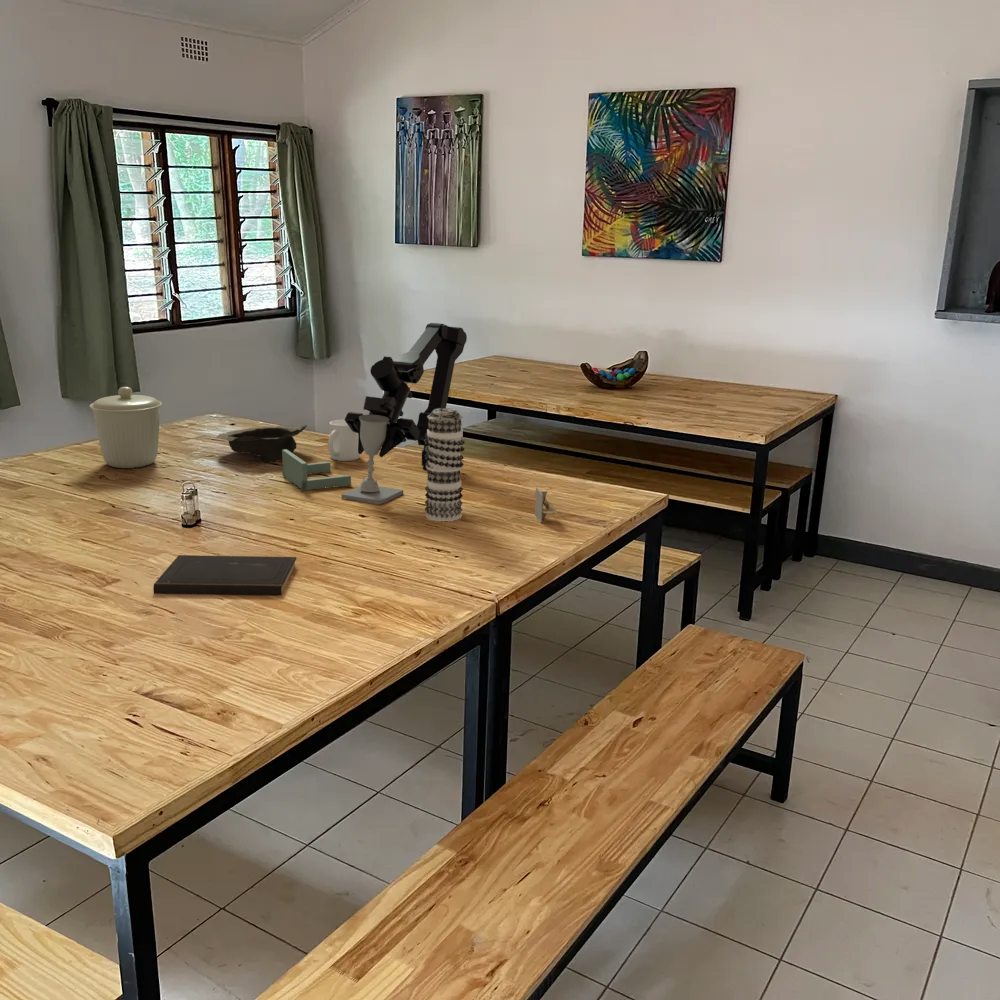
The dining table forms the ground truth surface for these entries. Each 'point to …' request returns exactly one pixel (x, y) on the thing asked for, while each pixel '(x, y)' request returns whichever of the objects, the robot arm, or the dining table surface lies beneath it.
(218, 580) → the hardcover book
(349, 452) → the mug
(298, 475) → the u-shaped frame
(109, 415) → the canister
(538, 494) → the grey angled bracket piece
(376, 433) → the chalice
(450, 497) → the decorative candle
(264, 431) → the stone bowl
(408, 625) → the dining table surface
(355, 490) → the rubber mat
